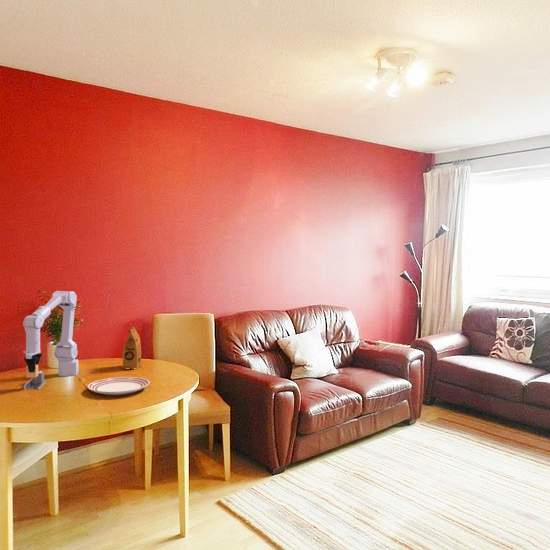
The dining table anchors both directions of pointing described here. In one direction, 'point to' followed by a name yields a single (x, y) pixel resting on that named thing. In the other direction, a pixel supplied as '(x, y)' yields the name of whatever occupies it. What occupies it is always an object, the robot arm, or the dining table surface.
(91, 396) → the dining table surface
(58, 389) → the dining table surface
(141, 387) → the dinner plate
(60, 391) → the dining table surface
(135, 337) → the coffee package
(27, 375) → the block
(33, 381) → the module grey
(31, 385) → the rail
